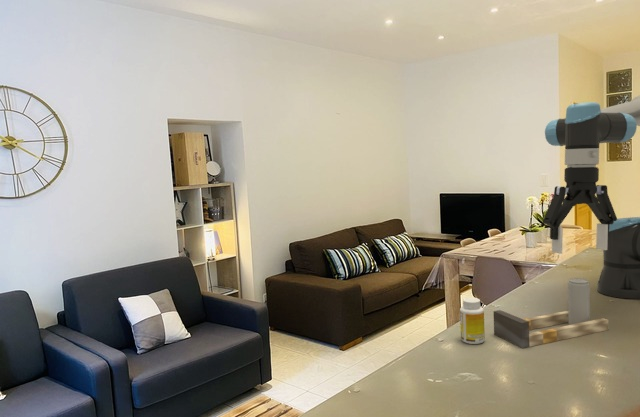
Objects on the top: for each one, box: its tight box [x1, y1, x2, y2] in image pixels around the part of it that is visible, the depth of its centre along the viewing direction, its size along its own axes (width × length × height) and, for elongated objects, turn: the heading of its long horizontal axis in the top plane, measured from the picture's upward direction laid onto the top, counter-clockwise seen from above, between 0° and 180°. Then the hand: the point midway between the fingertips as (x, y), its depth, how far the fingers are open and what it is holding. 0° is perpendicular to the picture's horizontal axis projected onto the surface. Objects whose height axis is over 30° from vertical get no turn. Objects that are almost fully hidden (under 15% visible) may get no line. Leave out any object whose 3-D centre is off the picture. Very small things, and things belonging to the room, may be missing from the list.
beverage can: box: [567, 277, 591, 325], centre depth 123 cm, size 5×5×12 cm
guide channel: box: [493, 309, 609, 349], centre depth 121 cm, size 26×10×6 cm, turn 108°
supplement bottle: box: [459, 297, 486, 345], centre depth 118 cm, size 6×6×10 cm
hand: (579, 251), depth 122 cm, fingers open, 13 cm apart
